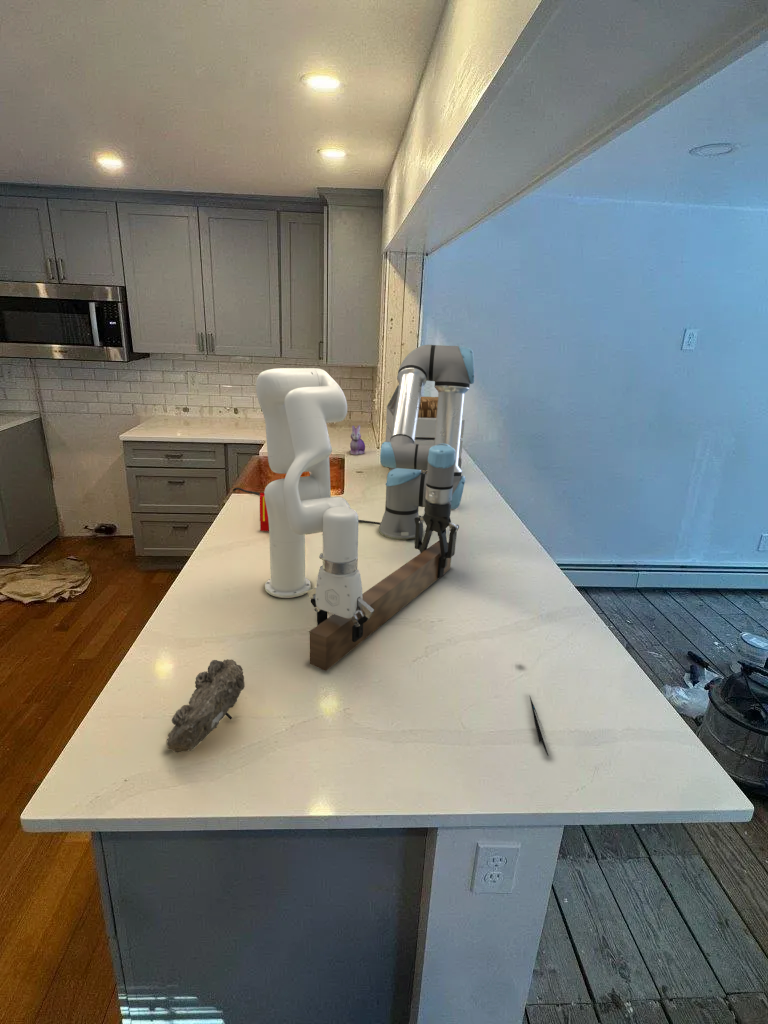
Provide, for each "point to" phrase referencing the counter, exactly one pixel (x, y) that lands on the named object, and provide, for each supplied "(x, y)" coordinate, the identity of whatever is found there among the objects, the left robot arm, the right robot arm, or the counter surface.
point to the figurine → (356, 442)
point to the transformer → (421, 422)
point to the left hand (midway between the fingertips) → (339, 632)
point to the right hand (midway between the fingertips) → (432, 574)
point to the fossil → (206, 705)
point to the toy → (263, 514)
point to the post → (375, 607)
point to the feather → (538, 726)
